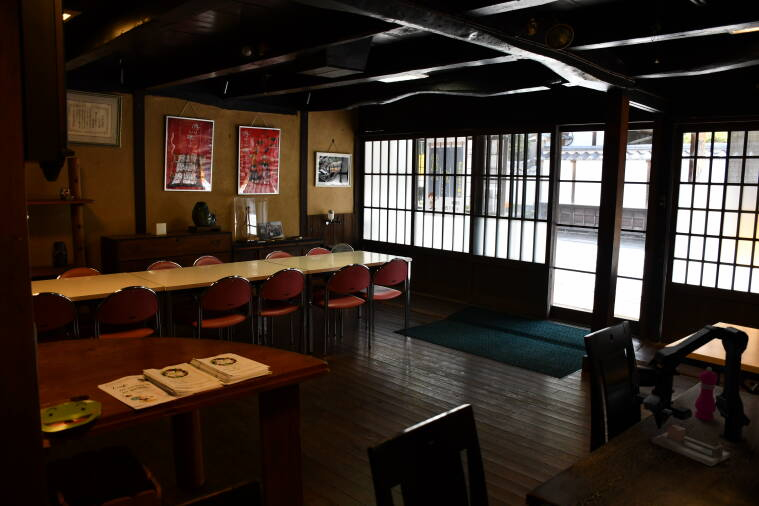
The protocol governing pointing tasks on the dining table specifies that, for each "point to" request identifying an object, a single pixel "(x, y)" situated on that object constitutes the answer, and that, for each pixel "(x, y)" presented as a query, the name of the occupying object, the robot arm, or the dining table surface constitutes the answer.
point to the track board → (693, 449)
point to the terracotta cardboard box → (676, 433)
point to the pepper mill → (706, 396)
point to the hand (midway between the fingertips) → (659, 429)
